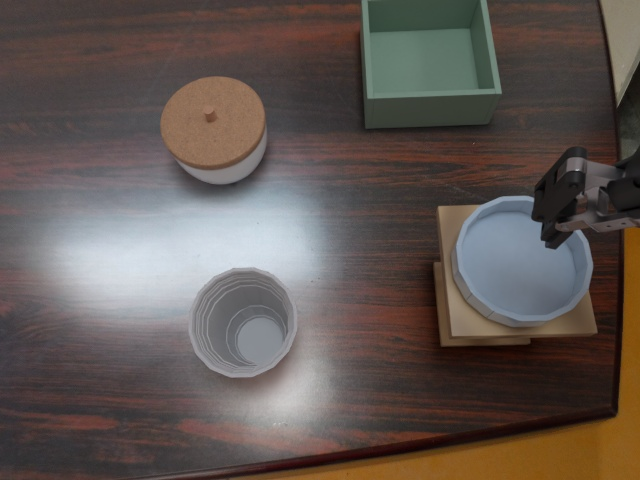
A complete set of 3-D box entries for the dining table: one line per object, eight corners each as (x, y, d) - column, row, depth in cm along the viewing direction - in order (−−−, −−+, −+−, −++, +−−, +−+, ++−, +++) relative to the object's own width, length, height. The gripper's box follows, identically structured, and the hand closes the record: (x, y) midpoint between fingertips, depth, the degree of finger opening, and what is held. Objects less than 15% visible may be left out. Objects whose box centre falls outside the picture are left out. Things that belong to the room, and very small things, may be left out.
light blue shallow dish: (565, 207, 52) (578, 193, 50) (589, 326, 48) (605, 319, 45) (444, 211, 53) (450, 197, 50) (457, 329, 49) (464, 322, 46)
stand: (525, 250, 66) (570, 201, 53) (543, 357, 61) (598, 333, 48) (419, 253, 66) (437, 205, 53) (428, 360, 61) (451, 336, 48)
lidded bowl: (177, 201, 70) (148, 159, 60) (184, 119, 75) (159, 66, 64) (273, 198, 70) (261, 155, 59) (274, 116, 74) (263, 62, 64)
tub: (473, 27, 78) (484, -10, 72) (488, 124, 72) (502, 93, 66) (359, 32, 79) (361, -4, 73) (365, 129, 73) (367, 98, 67)
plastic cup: (203, 380, 62) (172, 366, 50) (226, 291, 65) (202, 258, 54) (296, 397, 60) (285, 386, 49) (313, 305, 64) (307, 275, 53)
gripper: (929, 89, 25) (710, 224, 40) (614, 39, 27) (517, 186, 42) (955, 234, 23) (710, 320, 38) (604, 168, 24) (505, 275, 39)
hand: (608, 249), depth 40 cm, fingers open, 8 cm apart
